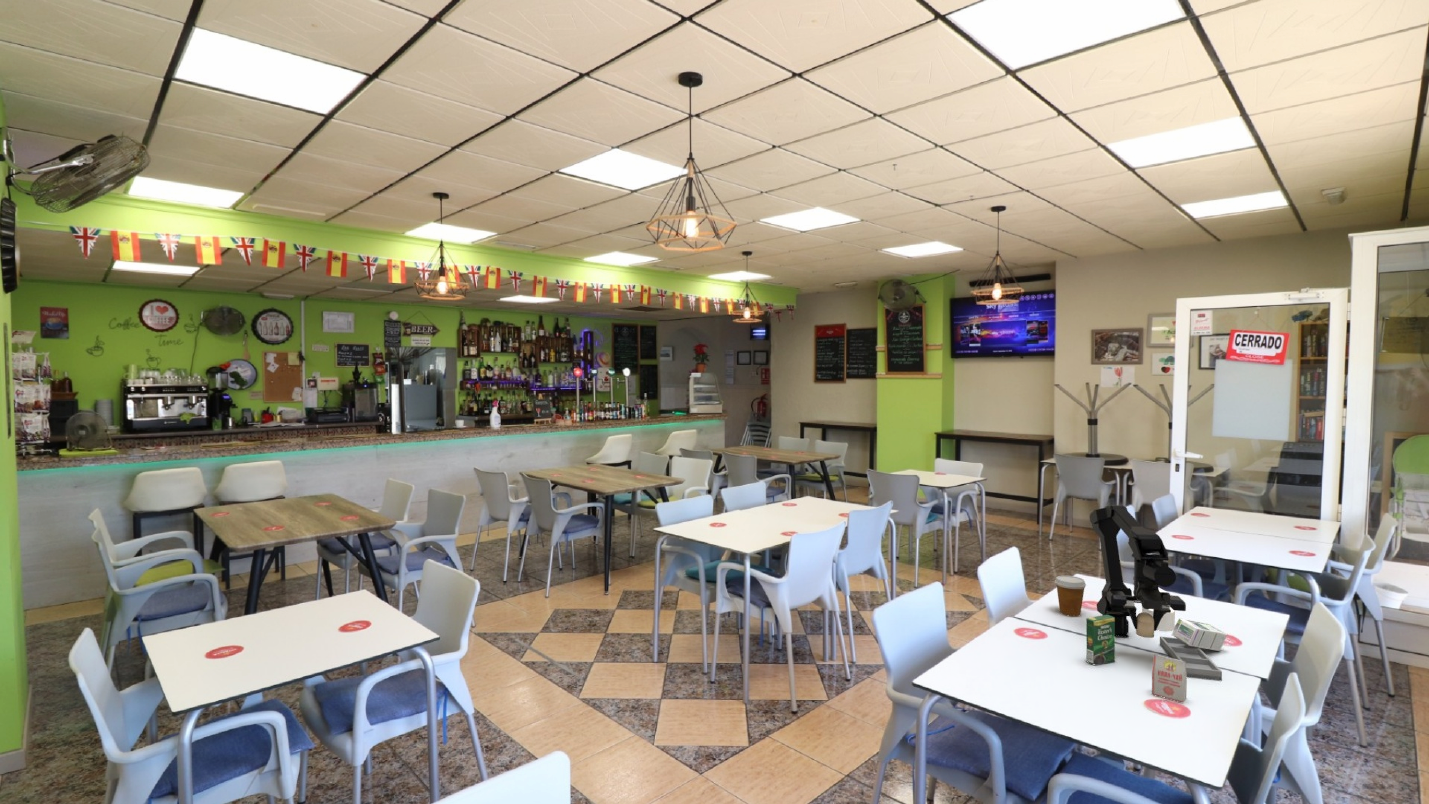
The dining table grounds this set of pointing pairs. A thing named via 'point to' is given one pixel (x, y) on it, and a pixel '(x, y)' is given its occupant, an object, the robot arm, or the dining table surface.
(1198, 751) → the dining table surface
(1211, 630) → the syrup box
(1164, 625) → the base with upright slab
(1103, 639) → the coffee box
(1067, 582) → the disposable coffee cup
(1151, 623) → the beige domed cylinder
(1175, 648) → the grey divided tray
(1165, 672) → the tea bag
